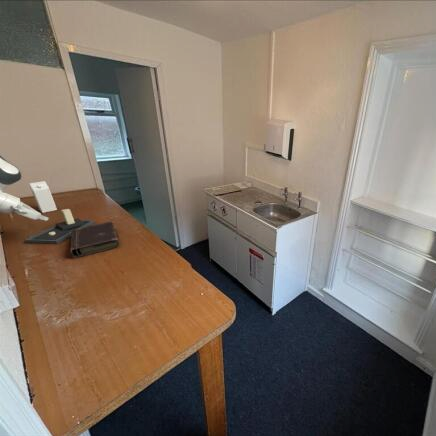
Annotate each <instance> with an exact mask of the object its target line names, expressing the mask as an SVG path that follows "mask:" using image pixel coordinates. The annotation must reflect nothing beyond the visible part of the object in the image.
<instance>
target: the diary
mask: <svg viewBox="0 0 436 436" xmlns="http://www.w3.org/2000/svg"><path fill="white" fill-rule="evenodd" d="M119 237H120V236H119V235H118V234H117V232H116V228H115V226H114V223H113V221H108V222H102V223H96V224H95V223H94V224H92V225H90V226H86V227H82V228H78V229H72V232H71V236H70V250H69V253H70V256H71V257H72V259H76V258H79V257H80V258H81V257H84V256H88V255H92V254H96V253H97V254H98V253H100V252H104V251H108V250H112V249H115V248H119V247H120V243H119V240H118V238H119Z"/></svg>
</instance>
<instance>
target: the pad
mask: <svg viewBox="0 0 436 436" xmlns="http://www.w3.org/2000/svg"><path fill="white" fill-rule="evenodd" d="M70 232H71V231H70V230H50V231H48V232H46V233H44V234H42V235H40V236H38V237H36V238H34V239H41V240H56V239H58V238H60V237H62V236H64V235H66V234H68V233H70Z"/></svg>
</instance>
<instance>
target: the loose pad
mask: <svg viewBox="0 0 436 436" xmlns="http://www.w3.org/2000/svg"><path fill="white" fill-rule="evenodd" d="M60 211H61V214H62V216H63V219H64V221H65V222H64V221H61V222H58V223H55V226H57V227H59V228H60V229H62V230H67V229H70V228H74V227H78V226H81V225H85V224H86V223H85V222H84V221H82V220H83V219H80V218H79V217H78V218H74V217H73V213H72V211H71V209H70V208H65V209H61V210H60Z"/></svg>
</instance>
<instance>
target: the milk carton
mask: <svg viewBox="0 0 436 436" xmlns="http://www.w3.org/2000/svg"><path fill="white" fill-rule="evenodd" d="M29 187H30V191H31V193H32V196H33V198H34V200H35V202H36V203H35V204H36V205H37V207H38V210H39V211H40V213H42V214H44V213H49V212H53V211H58V208H57V206H56V203H55V200H54V197H53V195H52V192H51V189H50V187H49V185H48V184H47V182H46V180H44V181H37V182H29Z"/></svg>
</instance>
